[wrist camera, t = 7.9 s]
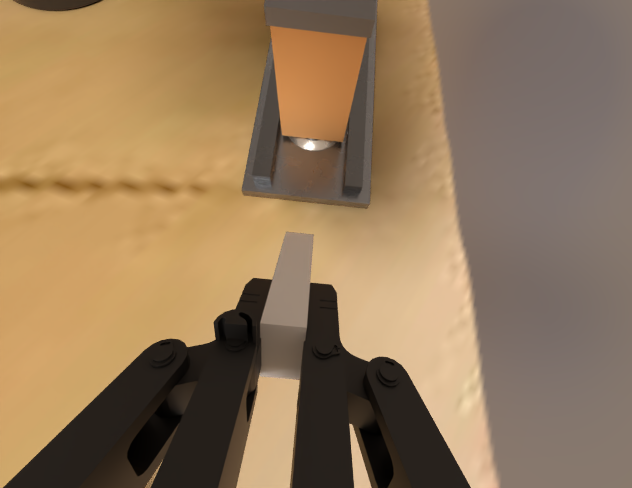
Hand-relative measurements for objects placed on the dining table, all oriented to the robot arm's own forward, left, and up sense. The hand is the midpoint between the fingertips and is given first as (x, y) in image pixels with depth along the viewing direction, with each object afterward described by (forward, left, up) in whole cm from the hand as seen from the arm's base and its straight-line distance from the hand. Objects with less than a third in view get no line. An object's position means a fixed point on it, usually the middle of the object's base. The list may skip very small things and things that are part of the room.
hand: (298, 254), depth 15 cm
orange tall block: (-16, +4, -7) cm, 18 cm away
